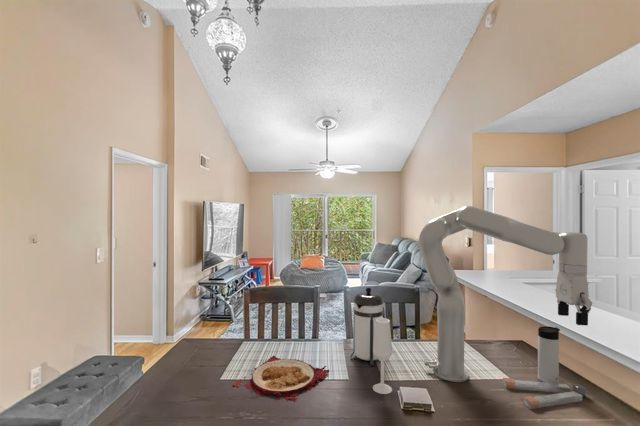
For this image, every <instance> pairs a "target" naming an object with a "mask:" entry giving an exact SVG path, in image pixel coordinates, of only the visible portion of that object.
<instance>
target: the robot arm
mask: <svg viewBox="0 0 640 426" xmlns="http://www.w3.org/2000/svg"><path fill="white" fill-rule="evenodd" d="M465 230H470V231H473V232H476V233H479V234H482V235H484V236H487V237H491V238H493V239H497V240H500V241H501V242H502V241H503V242H508V243H511V244H515V245H517V246H521V247H524V248H527V249H529V250H533V251H535V252H538V253H542V254H544V255H549V256H553V255H558V273H557V276H556V277H557V278H556V285H555V289H554V290H555V297H556V299H557V300H556V302H557V314H558V316H565V317H569V315H570V314H569V313H570V307H569V306H574V307H575V308H576V312H575V325H577V326H588V324H589V314H590V311H591V309H592V306H593V302H592V300H591V299H590V298H589V297H590V296H589V284H588V282H589V281H588V277H587V275H588V235H586V234H585V233H583V232H571V231H570V232H568V231H564V232H557V231H556V232H555V231H549V230H547V229H543V228H540V227H536V226H533V225H530V224H527V223H524V222H521V221H518V220H515V219H513V218H511V217H507V216H505V215H502V214H497V213H495V212H491V211H489V210H485V209H481V208H478V207H475V206H472V205H464V206H462V207H461V208H458V209H457V210H453V211H451V212H449V213H447V214H444V215H441V216H439V217H435V218H432V219H430V221H428V222H427V223H426V224H425V225H424V226H423V228H422V229H421V231H420V234H419V236H418V247H419V252H420V254H421V257H422V260H423V263H424V267H425V269H426V272H427V275H428V279H429V281H430V283H431V286H433V287H434V289H435V290H436V291H435V292H436V294H437V297H438V298H437V304H436V305H437V306H436V307H437V308H436V311H437V330H436V331H437V351H436V352H437V357H435V359H434V360H428V359H427V360H424V366H425V367H428V368H429V369H432V371H433V374H434V375H435V376H436V377H438V378H440V379H442V380H444V381H446V382H447V381H448V382H453V383H462V382H465V381H467V380H468V379H469V377H470V376H469V372H468V371H467V370H466V368H465V320H466V319H465V313H466V303H465V296H464V294H463V290H462V288H461V285H460V282H459V280H458V277H457V275H456V271H455V269H454V267H453V266H452V265H451V264H450V263H449V262H448V259H447V257H446V252H445V250H444V247H443V241H444V239H446V238H447V237H449V236H452V235H454V234H456V233H460V232H462V231H465Z"/></svg>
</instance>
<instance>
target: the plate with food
mask: <svg viewBox="0 0 640 426" xmlns="http://www.w3.org/2000/svg"><path fill="white" fill-rule="evenodd" d="M325 368H327V365H324V366H323V367H321V368H319V367H314V366H313V365H312V364H310V363H306V362H305V361H303V360H299V359H297V358H294V359H293V358H292V359H291V358H278V357H277V356H275V355H272V356H270V358H268V359H267V360H266V361H264V362H262V364H260V365H259V366H257V367H253V369H254V370H253V372H252V373H251V378H250V380H249V382H247V383H244V382H243V380H245V379H246V376H244V377H243V380H242V379H240V381H239V380H238V381H236V382H233V386H234V387H237V388H238V389H239V388H240V386H241V384H242V383H243V384H244V387H246V389H250V390H254V391H255V394H256V395H259V396H261V395H262V396H263V397H264V395H266V394H269V395H274V396H277V397H276V398H275V399H274V401H277V400H282V398H281V397H280V396H282V397H283V400H285V402H289V400H291V402H293V403H295V402H296V401H297V400H298V399H299V398H298V396H299V394H301V393H302V391H305V390H307V391H308V392H310V391H312V389H313V388H314V389H315V388H316V384H315V383H316V382H319V381H323V379H324V378H325V377H326V376H327V374H328V373H330V369H325ZM241 382H242V383H241ZM307 391H306V392H305V394H306V393H308V392H307ZM278 396H279V397H278ZM289 396H290V397H289Z"/></svg>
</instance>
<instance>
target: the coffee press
mask: <svg viewBox="0 0 640 426" xmlns="http://www.w3.org/2000/svg"><path fill="white" fill-rule="evenodd" d="M352 300H353V325H352V326H353V335H352V337H353V338H352V340H353V343H352V344H353V348H352V349H353V350H352V353H351V354H350V359H351V360H355V359H356V358H358V359H360V360H364V361H368V362H369V363H368V364H369V366H370V367H374V366H375V363H374V361H377V360H379V359H378V358H377V357H376V356H375V355H374V353H373V344H374V334H375V324H376V319H378V318H386V317H385V315H386V314H385V307H384V304H385V300H384V299H383V297H382V296H381V294H379V293H377V292H374V291H373V292H372V289H371V287H366V289H365V291H363V292H359V293H357V294H355V296H354V298H353V299H352ZM353 355H354V356H353Z"/></svg>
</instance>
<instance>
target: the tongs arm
mask: <svg viewBox="0 0 640 426" xmlns="http://www.w3.org/2000/svg"><path fill="white" fill-rule="evenodd" d="M522 401H523V405H524V406H525V407H526V408H528V409H529V410H534V409H540V408H545V407H553V406H559V405H565V404H566V405H567V404H573V403H578V402H579V403H580V402H583V398H582V395H581V394H579V393H578V392H576V391H573V390H572V391H571V392H565V393H552V394H545V395H540V396H539V395H537V396H532V395H526V396H523V400H522Z"/></svg>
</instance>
